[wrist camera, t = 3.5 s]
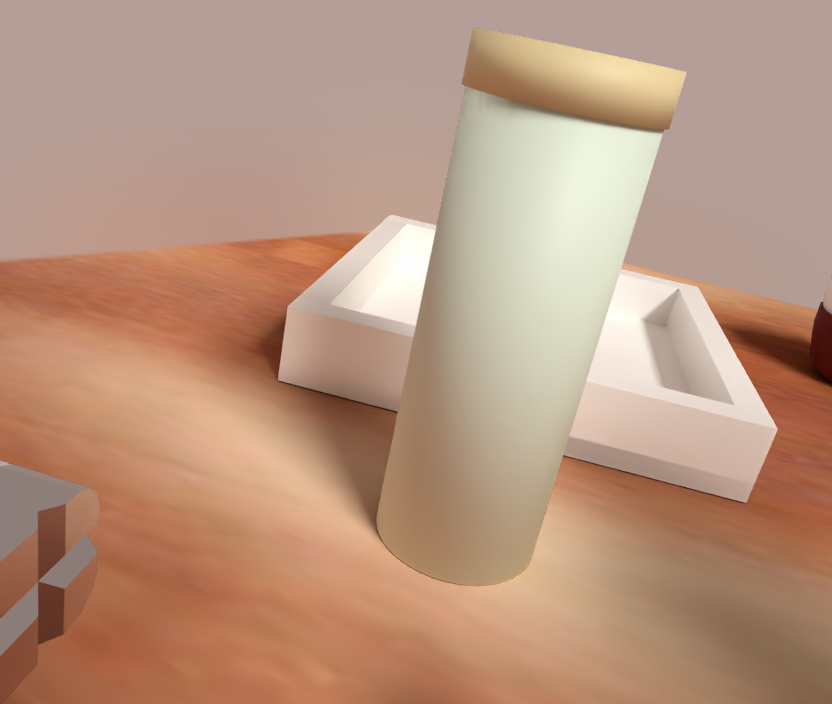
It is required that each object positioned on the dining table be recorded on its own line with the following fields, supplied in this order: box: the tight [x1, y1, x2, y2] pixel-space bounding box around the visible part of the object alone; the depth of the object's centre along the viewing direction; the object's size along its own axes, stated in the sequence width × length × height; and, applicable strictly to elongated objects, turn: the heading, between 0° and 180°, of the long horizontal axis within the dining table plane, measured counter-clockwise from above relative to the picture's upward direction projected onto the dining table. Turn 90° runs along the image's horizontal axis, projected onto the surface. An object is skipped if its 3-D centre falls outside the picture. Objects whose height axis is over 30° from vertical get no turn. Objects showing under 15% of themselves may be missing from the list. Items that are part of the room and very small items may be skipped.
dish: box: [278, 215, 778, 503], centre depth 35 cm, size 17×17×3 cm
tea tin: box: [376, 28, 687, 586], centre depth 20 cm, size 5×5×13 cm
